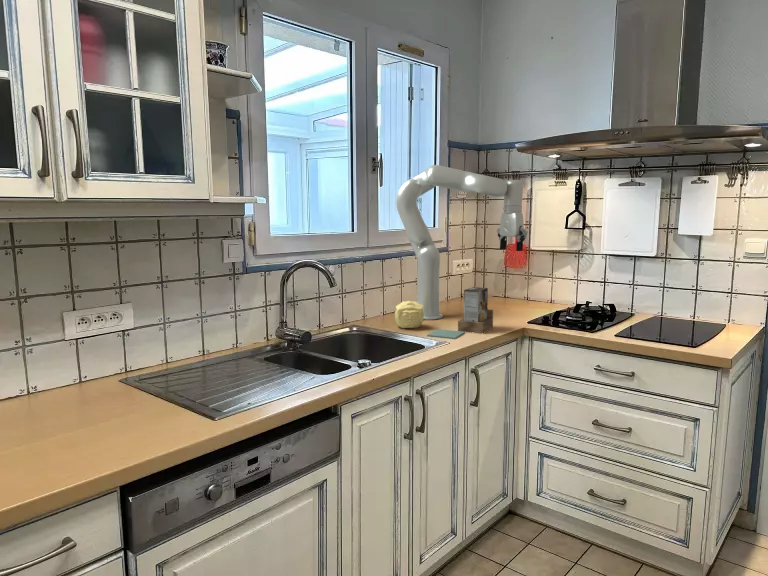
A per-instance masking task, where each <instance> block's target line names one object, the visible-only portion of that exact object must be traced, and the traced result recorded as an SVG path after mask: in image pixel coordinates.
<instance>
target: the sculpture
mask: <svg viewBox="0 0 768 576" xmlns="http://www.w3.org/2000/svg"><path fill="white" fill-rule="evenodd" d="M423 308H424V306H423V305H421V304H419V303H417V300H415V301H413V300H412V301H411V300H407V301H406V300H405V301H404V300H403V301H401V302H400V303H398V304H397V305H396V306H395V312H394V320H395V323H396V325H397V326H398V327H399V328H402V329H405V328H414V329H417V328H419V327H421V325H422V324H423V322H424V321H423V320H424V319H423V318H424V312H423Z"/></svg>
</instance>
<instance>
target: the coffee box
mask: <svg viewBox="0 0 768 576" xmlns="http://www.w3.org/2000/svg"><path fill="white" fill-rule="evenodd" d="M488 289H489V288H488V287H479V286H478V287H477V286H474V287H469V288H466V289H464V290H463V318H464V321H471V322H483V321H484V320H486V319H487V309H488V301H489V300H488V298H489V297H488V296H489V295H488V293H489V292H488Z"/></svg>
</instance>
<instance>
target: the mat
mask: <svg viewBox="0 0 768 576" xmlns="http://www.w3.org/2000/svg"><path fill="white" fill-rule="evenodd" d="M464 334H466V332H462V331H458V330H453V329H449V330H448V329H441V328H439V329H435V330H433V331H432V332H430V333H427V334H426V337H432V338H440V339H442V338H443V339H450V340H451V339H452V340H456V339H458V338H459V337H461V336H463V335H464Z"/></svg>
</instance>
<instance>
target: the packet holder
mask: <svg viewBox="0 0 768 576" xmlns="http://www.w3.org/2000/svg"><path fill="white" fill-rule="evenodd" d="M493 324H494V309H488V308H487V319H486V320H484V321H483V322H471V321H464V317H463V318H461V319H459V320H458V321H457V331H462V332H465V333H472V332H474V333H475V334H482V333H483V334H485V333H487V332H488V331H489V330H490V328H491V329H492V328H493V327H494V325H493ZM487 330H488V331H487ZM484 332H485V333H484ZM474 333H473V334H474Z"/></svg>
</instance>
